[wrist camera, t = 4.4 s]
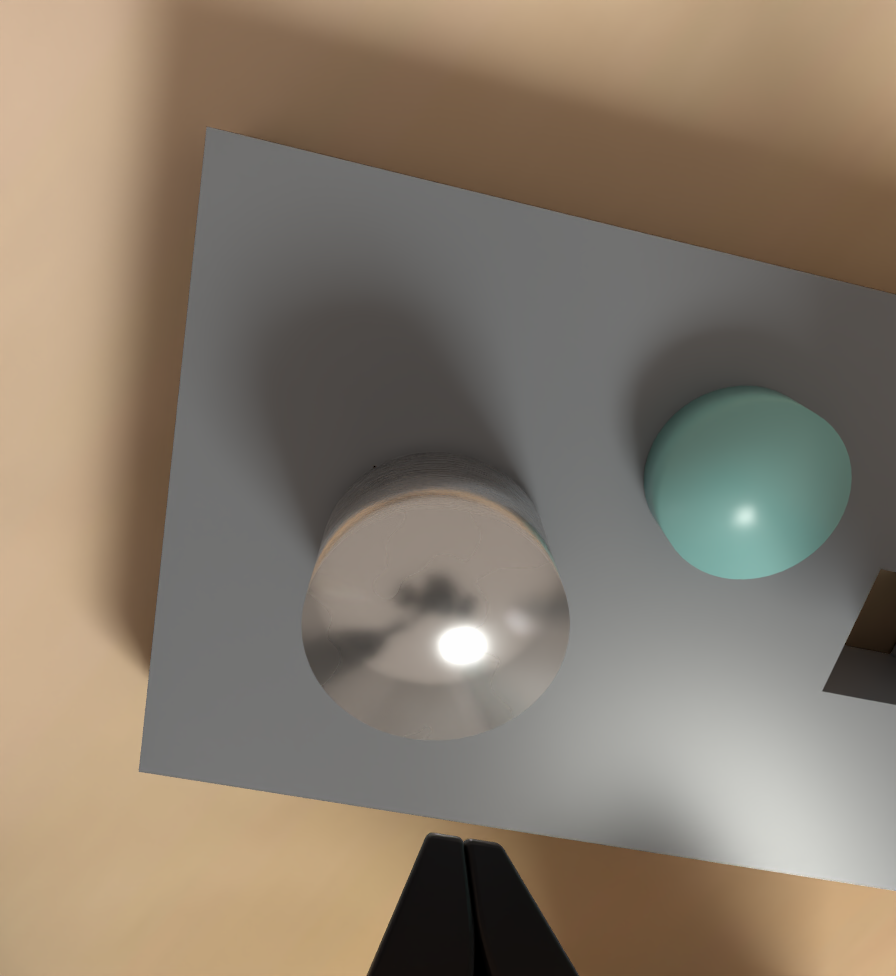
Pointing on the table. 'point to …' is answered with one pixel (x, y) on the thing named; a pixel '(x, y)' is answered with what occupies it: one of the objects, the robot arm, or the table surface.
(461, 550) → the knob
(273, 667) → the panel
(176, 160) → the table surface
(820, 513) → the teal flat disc
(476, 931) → the robot arm
